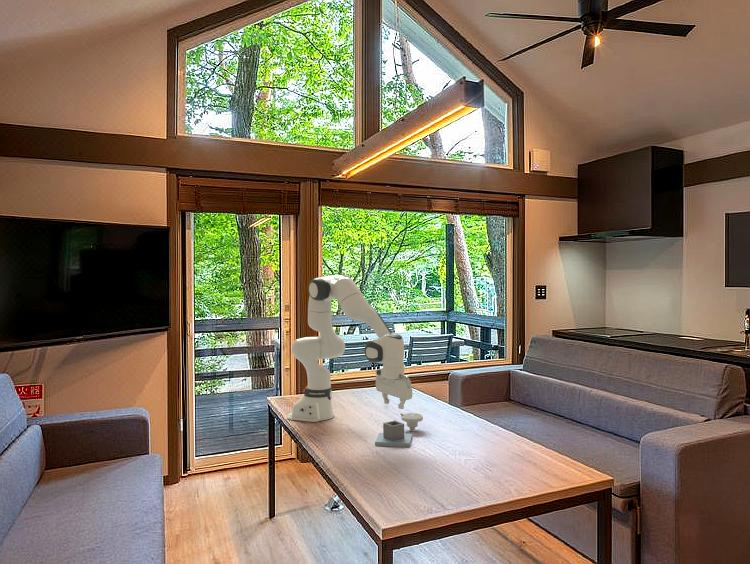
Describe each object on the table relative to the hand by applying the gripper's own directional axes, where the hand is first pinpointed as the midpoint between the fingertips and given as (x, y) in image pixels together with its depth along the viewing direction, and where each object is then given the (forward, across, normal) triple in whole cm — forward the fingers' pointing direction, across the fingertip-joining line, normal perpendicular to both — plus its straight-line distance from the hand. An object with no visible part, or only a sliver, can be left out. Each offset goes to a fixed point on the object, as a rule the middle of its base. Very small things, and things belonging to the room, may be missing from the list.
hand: (393, 406), depth 217 cm
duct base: (+15, -1, 0) cm, 15 cm away
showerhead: (+15, +6, -15) cm, 22 cm away
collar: (+13, 0, 0) cm, 13 cm away
